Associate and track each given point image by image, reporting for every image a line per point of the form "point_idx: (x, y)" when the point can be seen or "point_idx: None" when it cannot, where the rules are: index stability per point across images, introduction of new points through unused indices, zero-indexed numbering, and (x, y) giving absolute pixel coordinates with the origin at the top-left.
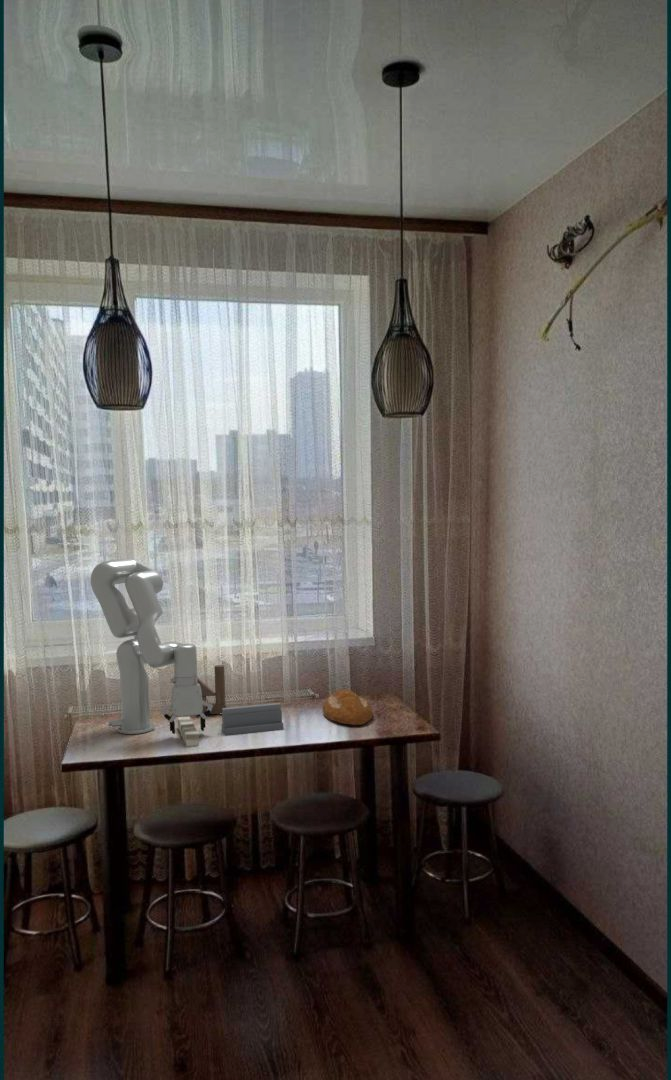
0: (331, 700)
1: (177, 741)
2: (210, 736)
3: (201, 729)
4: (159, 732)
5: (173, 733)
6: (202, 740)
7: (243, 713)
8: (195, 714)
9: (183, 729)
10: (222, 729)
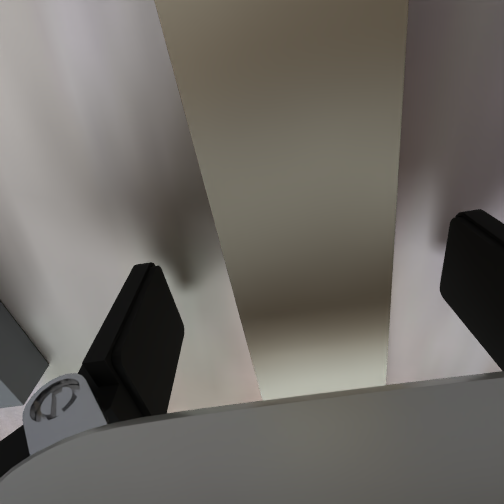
0: None
1: (425, 67)
2: (76, 198)
3: (161, 281)
4: (492, 369)
5: (472, 210)
6: (124, 42)
7: None
8: (171, 418)
9: (400, 118)
10: (20, 343)
